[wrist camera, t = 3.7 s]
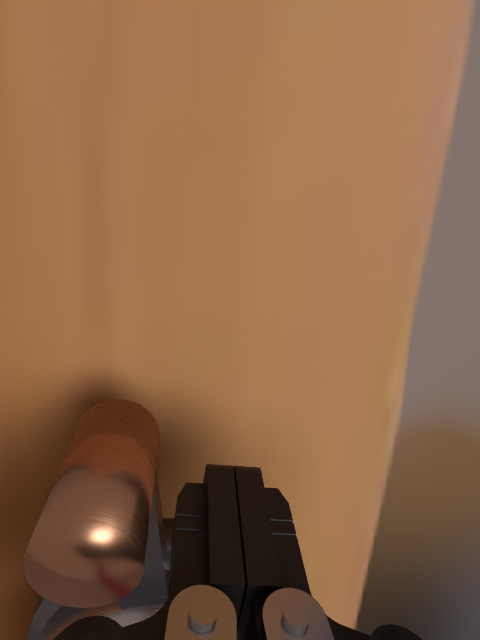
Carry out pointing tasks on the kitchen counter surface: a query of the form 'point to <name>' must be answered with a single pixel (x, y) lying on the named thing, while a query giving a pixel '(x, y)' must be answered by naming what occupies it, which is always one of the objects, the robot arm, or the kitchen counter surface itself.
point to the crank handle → (103, 523)
